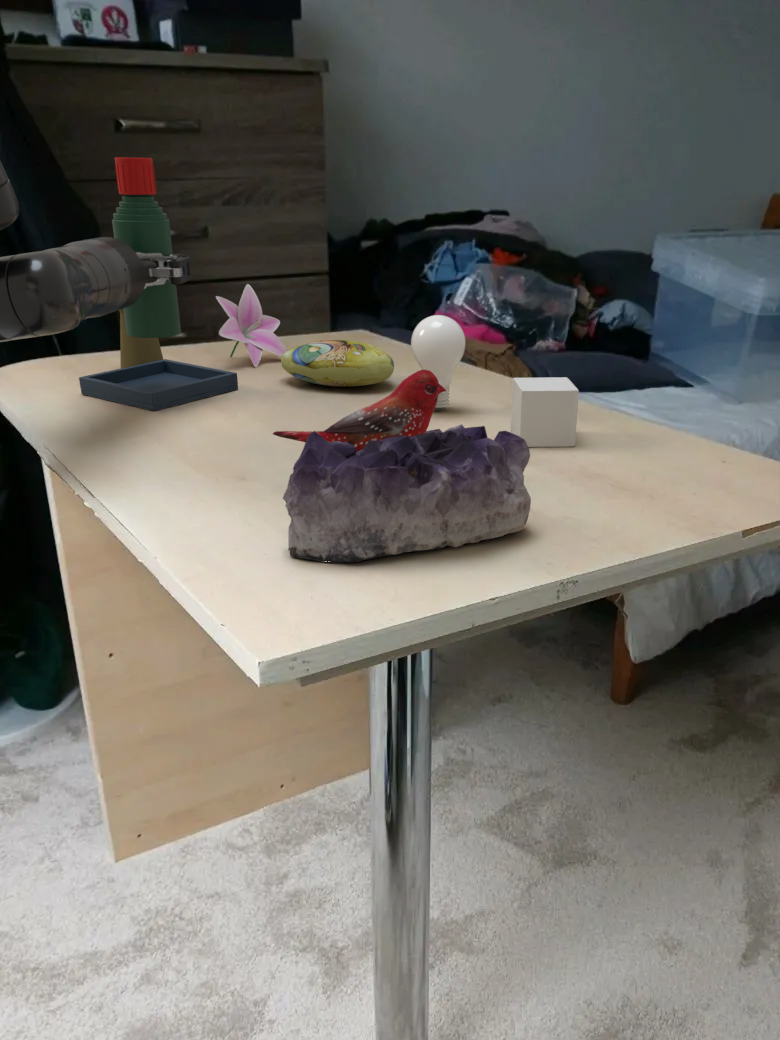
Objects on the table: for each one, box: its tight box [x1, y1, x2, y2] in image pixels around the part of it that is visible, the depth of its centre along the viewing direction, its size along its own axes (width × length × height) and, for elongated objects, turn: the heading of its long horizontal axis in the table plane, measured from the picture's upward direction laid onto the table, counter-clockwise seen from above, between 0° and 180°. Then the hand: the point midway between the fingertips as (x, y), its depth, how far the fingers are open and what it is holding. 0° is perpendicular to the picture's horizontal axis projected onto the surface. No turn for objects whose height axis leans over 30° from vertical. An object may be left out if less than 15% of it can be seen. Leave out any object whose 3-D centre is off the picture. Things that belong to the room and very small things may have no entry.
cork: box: [118, 309, 165, 369], centre depth 128 cm, size 6×6×11 cm
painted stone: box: [280, 339, 395, 388], centre depth 123 cm, size 11×8×15 cm
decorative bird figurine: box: [272, 369, 446, 452], centre depth 86 cm, size 3×18×10 cm, turn 122°
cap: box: [114, 157, 157, 196], centre depth 108 cm, size 4×4×4 cm
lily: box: [215, 283, 287, 368], centre depth 135 cm, size 12×12×10 cm
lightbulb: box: [410, 314, 467, 412], centre depth 110 cm, size 6×6×11 cm
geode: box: [282, 423, 532, 564], centre depth 75 cm, size 20×12×10 cm, turn 119°
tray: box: [78, 358, 239, 412], centre depth 119 cm, size 14×14×2 cm
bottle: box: [111, 194, 182, 339], centre depth 111 cm, size 6×6×19 cm
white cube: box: [510, 376, 580, 448], centre depth 101 cm, size 6×6×6 cm
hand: (152, 262), depth 114 cm, fingers closed on bottle, 6 cm apart
